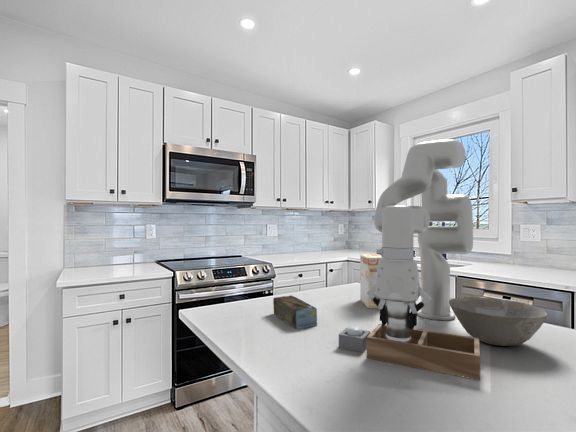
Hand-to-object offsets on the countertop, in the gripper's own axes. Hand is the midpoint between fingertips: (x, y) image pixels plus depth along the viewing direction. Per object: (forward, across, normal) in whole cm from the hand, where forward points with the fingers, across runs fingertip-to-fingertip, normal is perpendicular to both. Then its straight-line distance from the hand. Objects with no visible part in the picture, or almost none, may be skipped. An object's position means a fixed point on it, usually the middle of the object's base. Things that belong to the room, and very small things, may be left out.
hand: (398, 325), depth 84 cm
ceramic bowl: (+7, +22, +22) cm, 32 cm away
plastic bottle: (+7, 0, 0) cm, 7 cm away
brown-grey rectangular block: (+8, -37, +14) cm, 40 cm away
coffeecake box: (+7, -19, +48) cm, 52 cm away
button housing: (+7, -11, 0) cm, 13 cm away
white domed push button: (+5, -11, 0) cm, 12 cm away
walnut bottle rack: (+7, +6, 0) cm, 9 cm away
